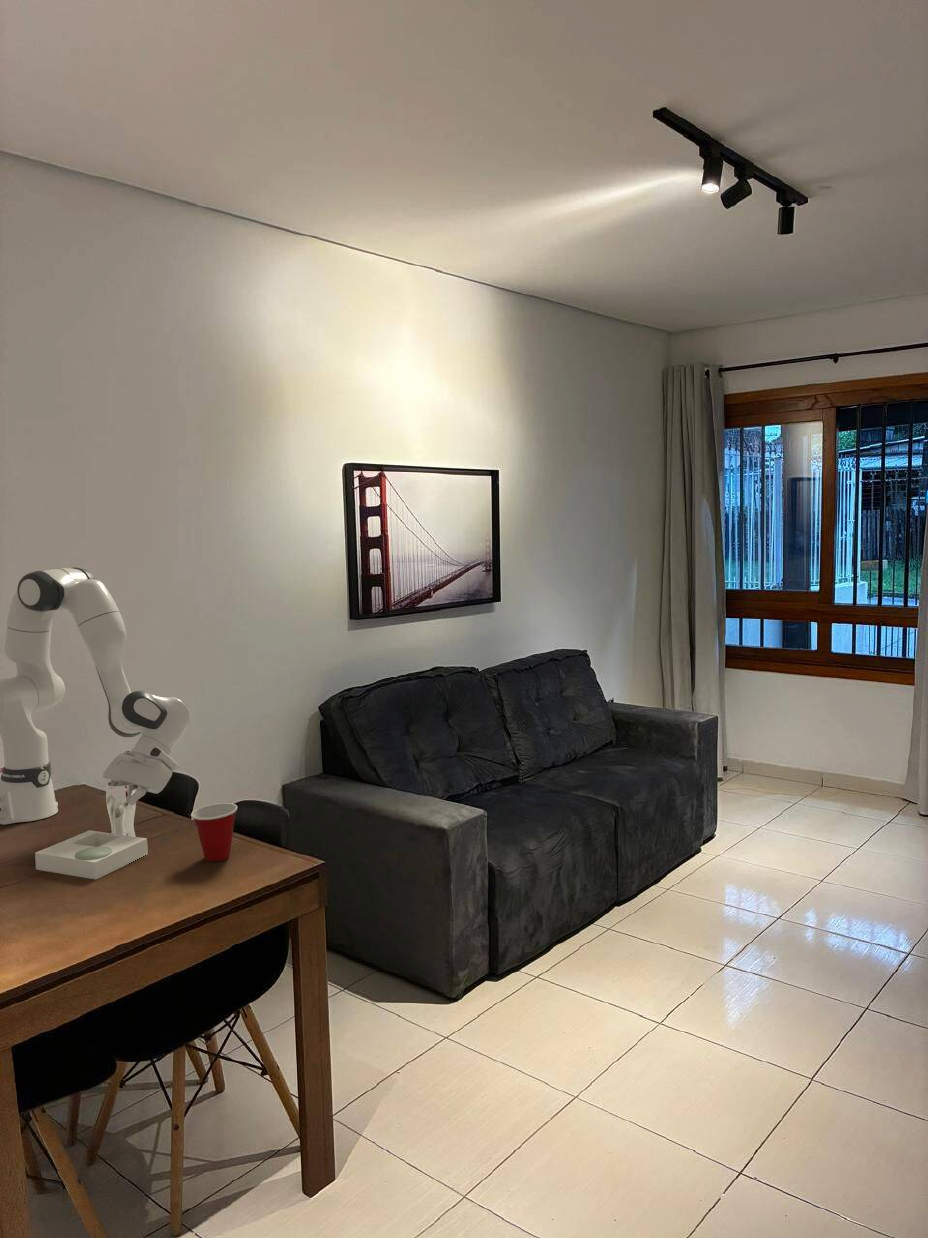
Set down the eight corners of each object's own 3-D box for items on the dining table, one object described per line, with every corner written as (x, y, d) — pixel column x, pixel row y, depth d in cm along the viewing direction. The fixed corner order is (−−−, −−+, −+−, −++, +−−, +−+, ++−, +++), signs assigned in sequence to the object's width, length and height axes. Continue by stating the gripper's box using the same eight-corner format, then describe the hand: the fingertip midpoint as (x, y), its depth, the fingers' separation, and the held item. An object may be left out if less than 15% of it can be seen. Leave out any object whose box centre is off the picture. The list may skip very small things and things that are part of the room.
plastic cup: (191, 853, 226) (188, 805, 225) (236, 847, 230) (234, 800, 228) (194, 868, 216) (192, 818, 215) (242, 862, 220) (240, 812, 218)
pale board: (36, 869, 216) (34, 851, 216) (90, 846, 232) (89, 829, 232) (96, 879, 210) (95, 861, 209) (148, 854, 225) (147, 837, 225)
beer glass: (142, 836, 239) (139, 779, 237) (130, 845, 232) (127, 787, 230) (116, 835, 240) (113, 778, 238) (103, 845, 233) (100, 786, 231)
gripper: (116, 743, 245) (85, 788, 238) (167, 753, 234) (137, 801, 227) (131, 756, 249) (101, 801, 242) (182, 766, 238) (152, 813, 231)
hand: (119, 801), depth 234 cm, fingers closed on beer glass, 7 cm apart
